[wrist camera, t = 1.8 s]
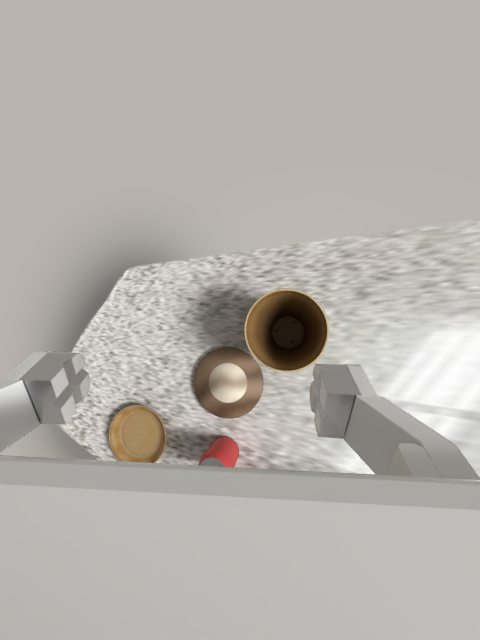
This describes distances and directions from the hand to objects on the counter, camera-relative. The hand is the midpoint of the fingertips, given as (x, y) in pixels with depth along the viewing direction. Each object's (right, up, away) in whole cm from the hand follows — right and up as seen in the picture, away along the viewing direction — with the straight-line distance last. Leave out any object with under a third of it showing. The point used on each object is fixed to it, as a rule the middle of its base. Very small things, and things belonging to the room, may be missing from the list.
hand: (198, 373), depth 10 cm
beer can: (-2, -28, +58) cm, 65 cm away
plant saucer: (-22, -26, +62) cm, 71 cm away
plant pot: (+12, -1, +58) cm, 59 cm away
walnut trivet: (-1, -13, +59) cm, 60 cm away
